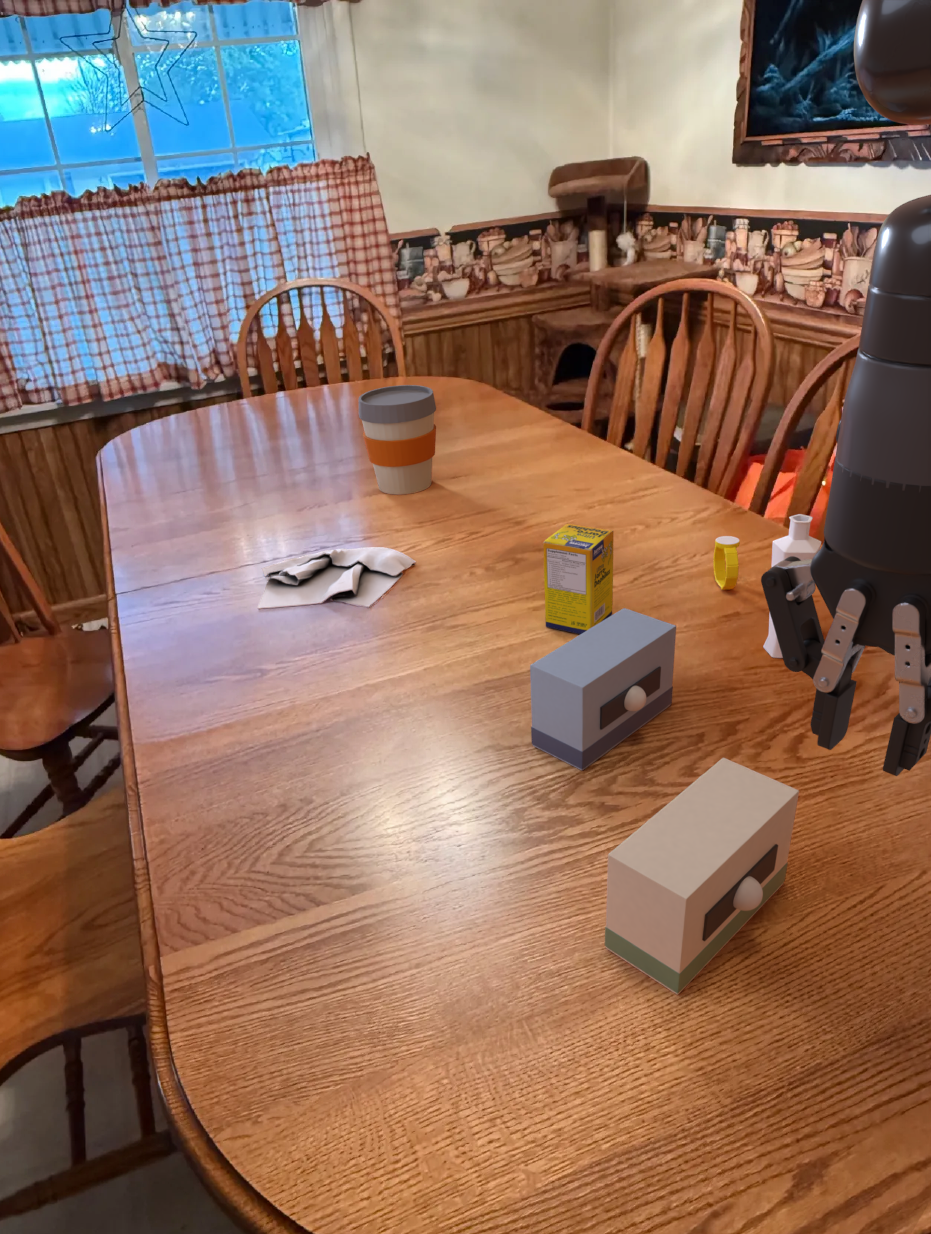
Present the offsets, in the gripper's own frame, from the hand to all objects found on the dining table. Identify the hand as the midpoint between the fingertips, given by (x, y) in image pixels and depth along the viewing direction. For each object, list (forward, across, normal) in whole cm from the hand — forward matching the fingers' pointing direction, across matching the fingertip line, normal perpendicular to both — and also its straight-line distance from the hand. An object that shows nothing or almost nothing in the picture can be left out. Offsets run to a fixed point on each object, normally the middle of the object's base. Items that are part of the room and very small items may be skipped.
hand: (863, 752), depth 50 cm
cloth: (+19, +78, -19) cm, 83 cm away
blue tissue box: (+19, +29, -15) cm, 38 cm away
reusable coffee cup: (+19, +97, -50) cm, 111 cm away
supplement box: (+19, +44, -30) cm, 57 cm away
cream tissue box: (+19, +9, 0) cm, 21 cm away
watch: (+19, +36, -48) cm, 63 cm away
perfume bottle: (+19, +23, -38) cm, 48 cm away
